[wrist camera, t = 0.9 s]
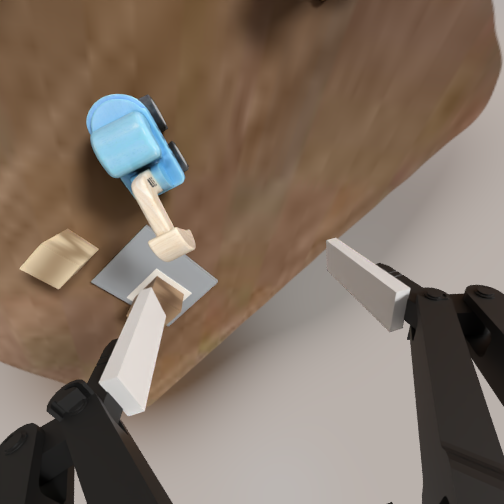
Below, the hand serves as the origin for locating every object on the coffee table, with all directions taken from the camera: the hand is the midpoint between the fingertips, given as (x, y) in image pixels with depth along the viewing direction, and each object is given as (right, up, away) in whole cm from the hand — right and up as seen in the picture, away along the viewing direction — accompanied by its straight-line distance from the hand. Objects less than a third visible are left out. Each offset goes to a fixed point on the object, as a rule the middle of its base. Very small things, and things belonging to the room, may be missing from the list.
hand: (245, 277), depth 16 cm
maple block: (-28, +2, +18) cm, 34 cm away
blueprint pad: (-17, -3, +23) cm, 29 cm away
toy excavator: (-13, +14, +16) cm, 25 cm away
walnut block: (-17, -6, +24) cm, 30 cm away
